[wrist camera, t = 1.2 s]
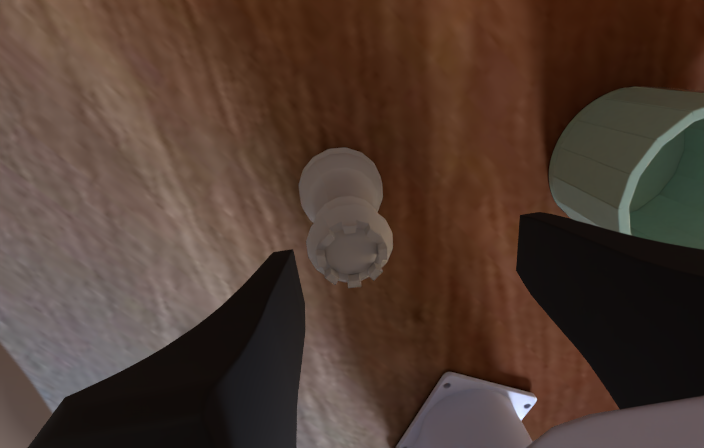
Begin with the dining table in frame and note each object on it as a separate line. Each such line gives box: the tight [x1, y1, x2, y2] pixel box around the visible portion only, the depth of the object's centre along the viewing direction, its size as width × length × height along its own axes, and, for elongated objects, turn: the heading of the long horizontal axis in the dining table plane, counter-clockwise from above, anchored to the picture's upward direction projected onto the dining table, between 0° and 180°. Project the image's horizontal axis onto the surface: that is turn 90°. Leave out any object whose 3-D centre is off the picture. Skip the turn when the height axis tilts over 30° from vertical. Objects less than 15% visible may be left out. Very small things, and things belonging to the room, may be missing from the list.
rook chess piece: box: [299, 147, 393, 288], centre depth 17 cm, size 4×4×8 cm
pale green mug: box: [549, 86, 704, 250], centre depth 18 cm, size 11×8×6 cm
